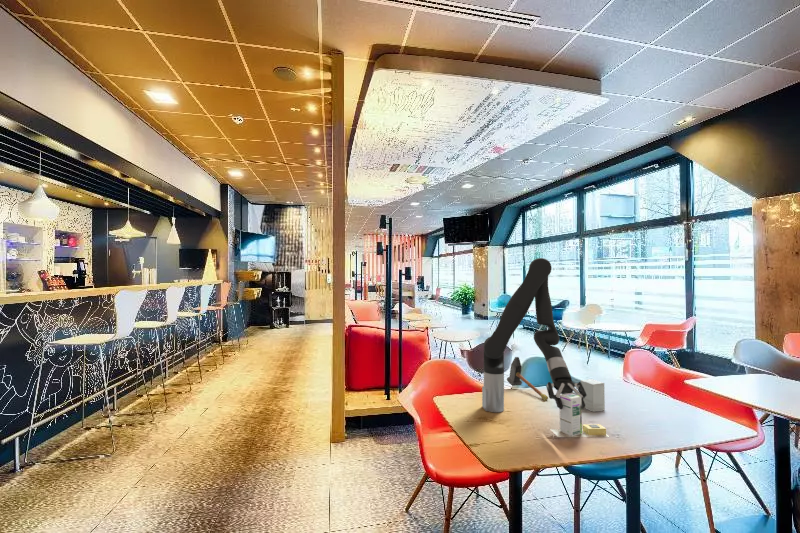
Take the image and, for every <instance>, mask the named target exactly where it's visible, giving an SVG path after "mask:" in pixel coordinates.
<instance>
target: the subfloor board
mask: <svg viewBox="0 0 800 533" xmlns="http://www.w3.org/2000/svg"><path fill="white" fill-rule="evenodd" d="M549 430H550V431H551V432H552V433H553V434H554V435H555V436H556V437H557V438H607V437H608V438H610V436H609V435H608V434H607V433H606V435H588V434H586V433H585V432H584V431H583V428H582V434H579V435H575V436H573V437H572V436H569V435H567V434H565V433H563V432H561V431H560V428H559V429H558V428H550V429H549Z"/></svg>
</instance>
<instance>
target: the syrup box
mask: <svg viewBox="0 0 800 533" xmlns="http://www.w3.org/2000/svg"><path fill="white" fill-rule="evenodd" d="M573 393H574V392H573ZM573 393H566V394H560V395H559V398H560V399H561V402H562V405H563V408H562V409H559V429H560V431H561V432H563V433H565V434H567V435H569V436H572V437H571V438H574V437H573V436H575V435H579V434H582V429H583V424H582V422H583V420H582V419H583V415H582V414H583V412H582V410H583V409H582V406H581V396H579V395H576V394H573Z"/></svg>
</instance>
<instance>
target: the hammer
mask: <svg viewBox="0 0 800 533" xmlns="http://www.w3.org/2000/svg"><path fill="white" fill-rule="evenodd" d="M520 360H521V359H520V356H515V357H514V359H513V360H512V362H511V363H510V368H509V369H510V371H509V376H507V377H506V381H507V383H509V384H510V385H511V386H514V387H515V386H522V384H523V383H524V384H526V385H527V386H528V387H529V388H531V390H533V391H534V392H535V394H537V395H539V397H540V398H541V399H542V401H548V400H549V396H547V395H546V394H544V393H543V392H541V391H540V390H539V389H538V388H537V387H535V386H534V385H533V384H532V382H530V381H529V380H528V379H526V378H525V377H524V376H523V375H522V374H521V372H522V368H523V367H522V364H521V361H520ZM522 381H523V382H522Z"/></svg>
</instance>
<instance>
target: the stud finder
mask: <svg viewBox="0 0 800 533" xmlns="http://www.w3.org/2000/svg"><path fill="white" fill-rule="evenodd" d="M582 429H583V431H584V432H585V433H586V434H588V435H606V434H607V428H606V427H604V426H603V425H602V424H601V423H599V424H597V423H594V424H593V423H592V424H590V423H588V424H585V423H584V424H582Z"/></svg>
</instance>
